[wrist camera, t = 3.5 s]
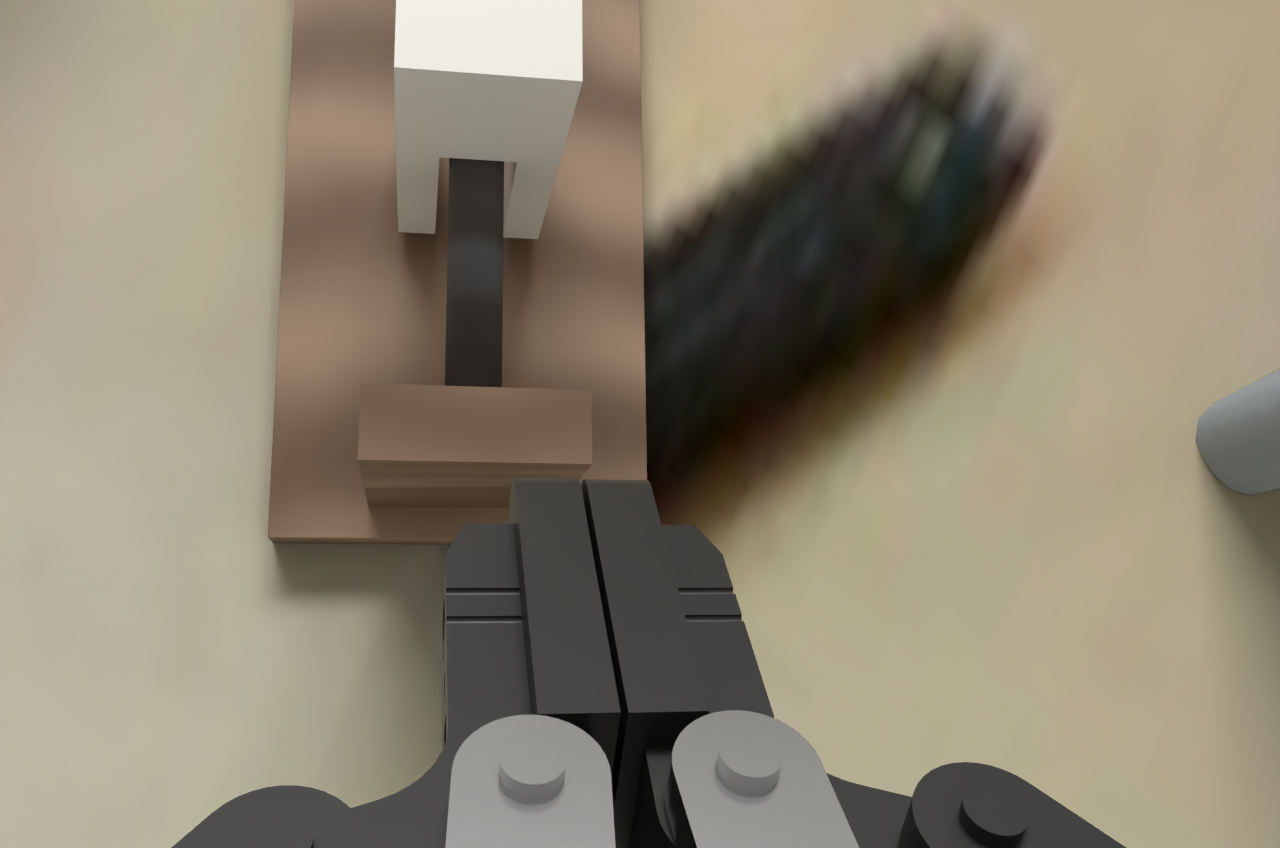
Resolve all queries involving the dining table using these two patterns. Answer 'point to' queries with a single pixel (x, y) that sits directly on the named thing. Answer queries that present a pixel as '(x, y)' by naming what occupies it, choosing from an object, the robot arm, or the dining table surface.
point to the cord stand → (450, 302)
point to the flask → (1244, 437)
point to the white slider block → (484, 99)
